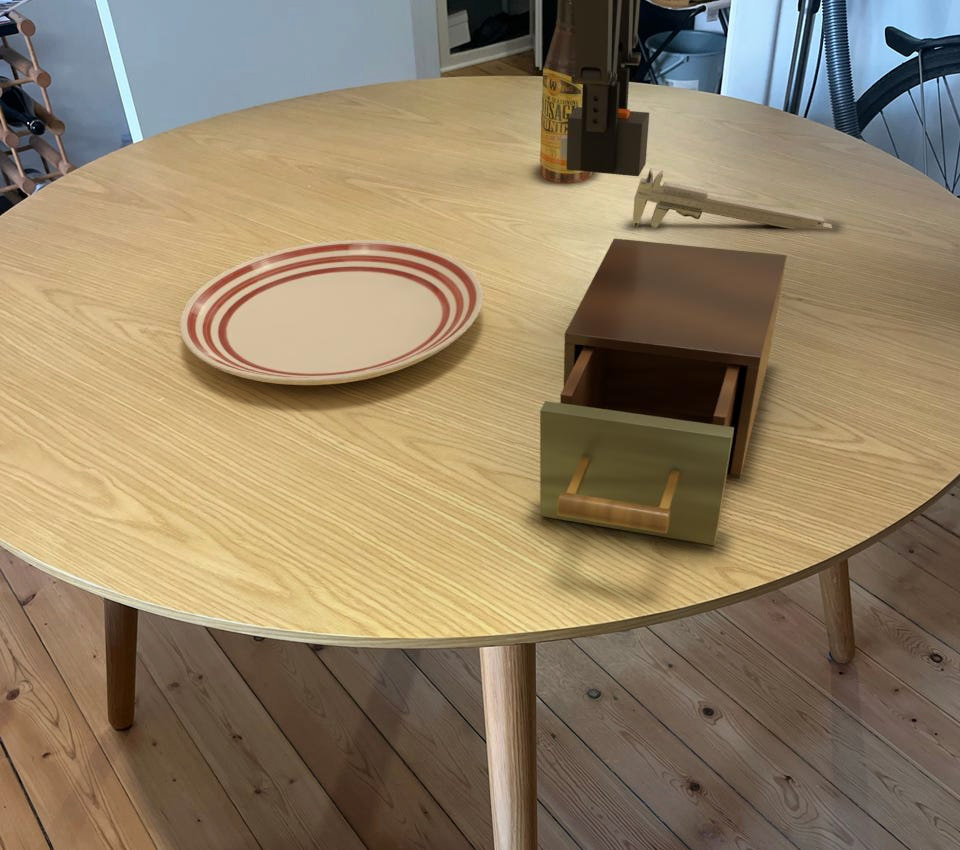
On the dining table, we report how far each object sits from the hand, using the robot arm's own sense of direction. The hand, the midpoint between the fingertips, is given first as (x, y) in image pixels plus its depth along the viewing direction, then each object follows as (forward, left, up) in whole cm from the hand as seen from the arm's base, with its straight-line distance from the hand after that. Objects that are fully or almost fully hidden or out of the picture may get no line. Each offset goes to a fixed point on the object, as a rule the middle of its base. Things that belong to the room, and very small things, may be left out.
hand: (602, 161), depth 83 cm
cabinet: (-9, +13, -15) cm, 21 cm away
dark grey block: (0, 0, 0) cm, 0 cm away
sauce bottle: (+11, -32, -15) cm, 37 cm away
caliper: (-9, -22, -15) cm, 28 cm away
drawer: (-9, +25, -14) cm, 30 cm away
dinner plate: (+23, +7, -15) cm, 28 cm away
